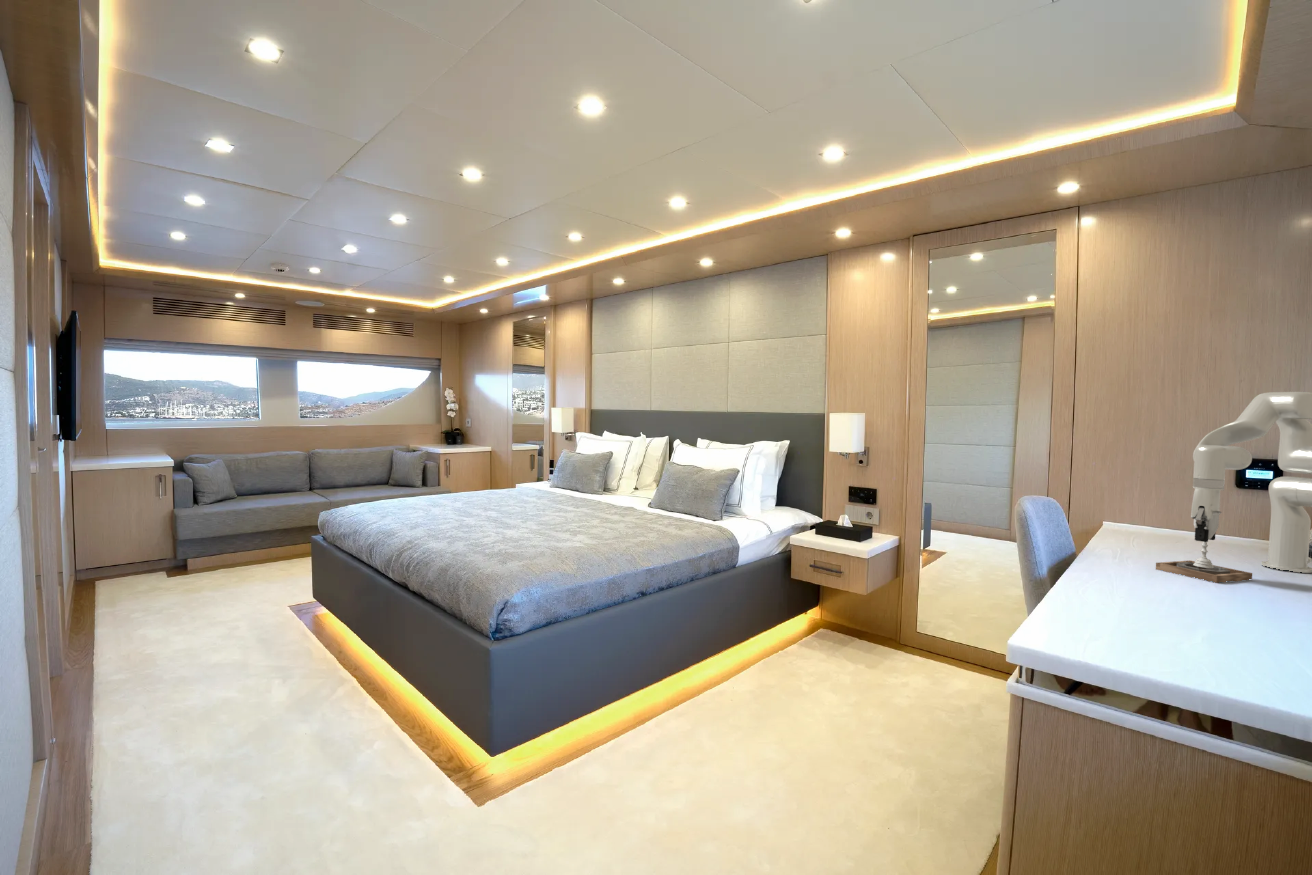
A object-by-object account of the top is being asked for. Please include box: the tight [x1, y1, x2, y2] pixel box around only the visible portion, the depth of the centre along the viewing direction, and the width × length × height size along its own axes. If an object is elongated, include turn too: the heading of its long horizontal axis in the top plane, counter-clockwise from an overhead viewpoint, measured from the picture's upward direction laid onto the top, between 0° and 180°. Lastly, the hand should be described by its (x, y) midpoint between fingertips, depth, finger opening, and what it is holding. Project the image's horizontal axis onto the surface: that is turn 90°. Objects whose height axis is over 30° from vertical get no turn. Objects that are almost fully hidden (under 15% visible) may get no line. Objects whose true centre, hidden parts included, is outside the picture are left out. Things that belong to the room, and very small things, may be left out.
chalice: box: [1193, 511, 1222, 568], centre depth 197 cm, size 7×7×18 cm
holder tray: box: [1155, 560, 1253, 584], centre depth 197 cm, size 17×17×2 cm
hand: (1204, 539), depth 197 cm, fingers closed on chalice, 6 cm apart
